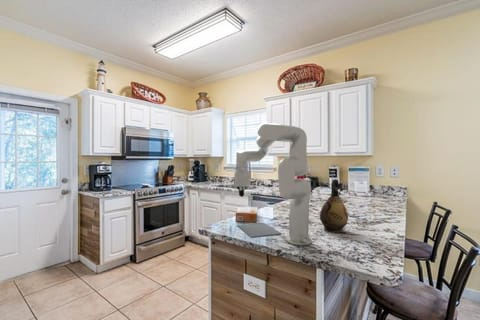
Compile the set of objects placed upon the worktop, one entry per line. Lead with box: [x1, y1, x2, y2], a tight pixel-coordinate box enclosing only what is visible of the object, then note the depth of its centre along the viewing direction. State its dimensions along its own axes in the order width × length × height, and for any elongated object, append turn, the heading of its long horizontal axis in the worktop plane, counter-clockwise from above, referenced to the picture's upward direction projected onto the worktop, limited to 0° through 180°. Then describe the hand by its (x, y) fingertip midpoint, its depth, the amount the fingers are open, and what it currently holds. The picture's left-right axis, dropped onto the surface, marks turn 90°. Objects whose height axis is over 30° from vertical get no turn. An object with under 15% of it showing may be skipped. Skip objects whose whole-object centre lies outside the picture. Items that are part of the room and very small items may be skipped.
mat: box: [237, 222, 282, 239], centre depth 137 cm, size 22×18×1 cm
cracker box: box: [235, 205, 259, 223], centre depth 164 cm, size 14×6×21 cm
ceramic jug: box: [319, 178, 349, 233], centre depth 140 cm, size 17×15×30 cm
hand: (241, 196), depth 158 cm, fingers closed
